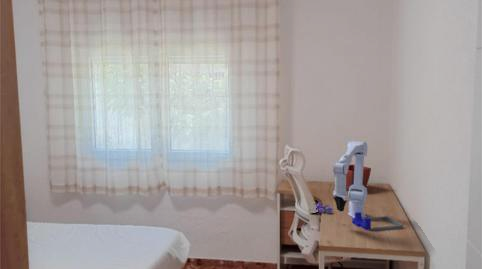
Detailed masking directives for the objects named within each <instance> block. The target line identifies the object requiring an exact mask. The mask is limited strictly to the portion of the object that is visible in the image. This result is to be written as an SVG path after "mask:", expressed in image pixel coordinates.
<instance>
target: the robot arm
mask: <svg viewBox="0 0 482 269" xmlns="http://www.w3.org/2000/svg"><path fill="white" fill-rule="evenodd" d="M346 146H347V150H346V153H345V154H343V155H342V156H341V157H340V159H339V160H338V162H335V163H334V164H333V166H332V167H333V168H332V172H333V177H334V190H333V193H332V196H333V200H334V202H335V205H336V206H335V207H336V209H337V211H339V212H344V210H345V206H346V204H347V202H348V201H349V202H348V212H347V215H348V216H350V217H352V218H355V212H361V216H362V218H368V217H367V215H365V202H366V201H367V199H368V188H367V186H366V187H364V186H363V185H362V181H363V167H364V166H365V165H364V163H365V162H364V161H365V157H367V156H368V144H367V142H366V141H353V140H349V141H348V143H347V145H346ZM353 156H354V158H355V159H354V165H355V170H354V184H353V185H352V186H350V187H349V191H346V174H347V172H348V169H349V165H351V163H352V162H353V159H352V158H353ZM354 189H358V190H354ZM347 192H348V193H347Z"/></svg>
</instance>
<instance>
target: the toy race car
mask: <svg viewBox="0 0 482 269" xmlns="http://www.w3.org/2000/svg"><path fill="white" fill-rule="evenodd" d="M313 201H314V202H315V205H316V207H317V208H316V210H317V209H318V213H317V214H326V213H327V214H326V215H331V213H333V215H334V214H335V212H334V208H333V207H330V205H328V204H325V205H324V206H323V205H322V202H318V203H316V201H315V200H313ZM324 212H325V213H324Z"/></svg>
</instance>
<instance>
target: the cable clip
mask: <svg viewBox="0 0 482 269" xmlns="http://www.w3.org/2000/svg"><path fill="white" fill-rule="evenodd" d="M351 219H352V220H351V222H352V223H351V224H353V225H355V226H356V227H361V228H363V230H365V231H367V230H371V228H372V227H371V226H372V224H371V223H372V221H371V217H365V218H364V221H363V220H362V216H361V212H355V218H353V217H352V218H351Z"/></svg>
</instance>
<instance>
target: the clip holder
mask: <svg viewBox="0 0 482 269" xmlns="http://www.w3.org/2000/svg"><path fill="white" fill-rule="evenodd" d="M370 218H371V222H372V221H384V220H386V221H388V222H390V223H391V224H393V225H386V226H385V225H383V226H373V229H372V230H373V231H384V230H396V229H397V230H399V229H403V226H404V224H403V223H400V222H399V221H397V220H395V219H394V218H392V217H390V216H388V215H385V216H375V217H370ZM383 219H384V220H383ZM362 220H363V222H364V218H362Z"/></svg>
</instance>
